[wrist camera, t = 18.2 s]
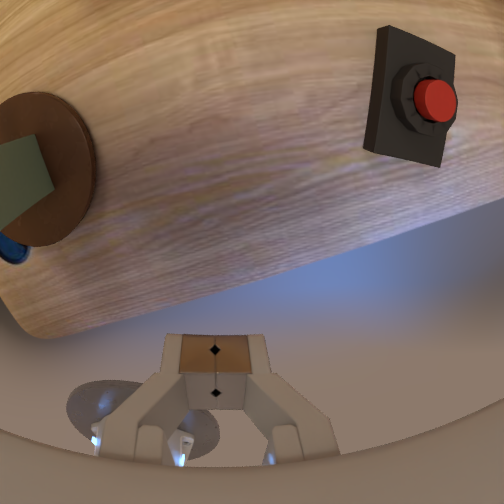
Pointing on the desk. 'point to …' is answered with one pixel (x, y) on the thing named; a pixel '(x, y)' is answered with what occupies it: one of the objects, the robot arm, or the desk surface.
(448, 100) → the switch
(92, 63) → the desk surface
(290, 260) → the desk surface
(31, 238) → the kettle
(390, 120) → the switch base
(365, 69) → the desk surface
